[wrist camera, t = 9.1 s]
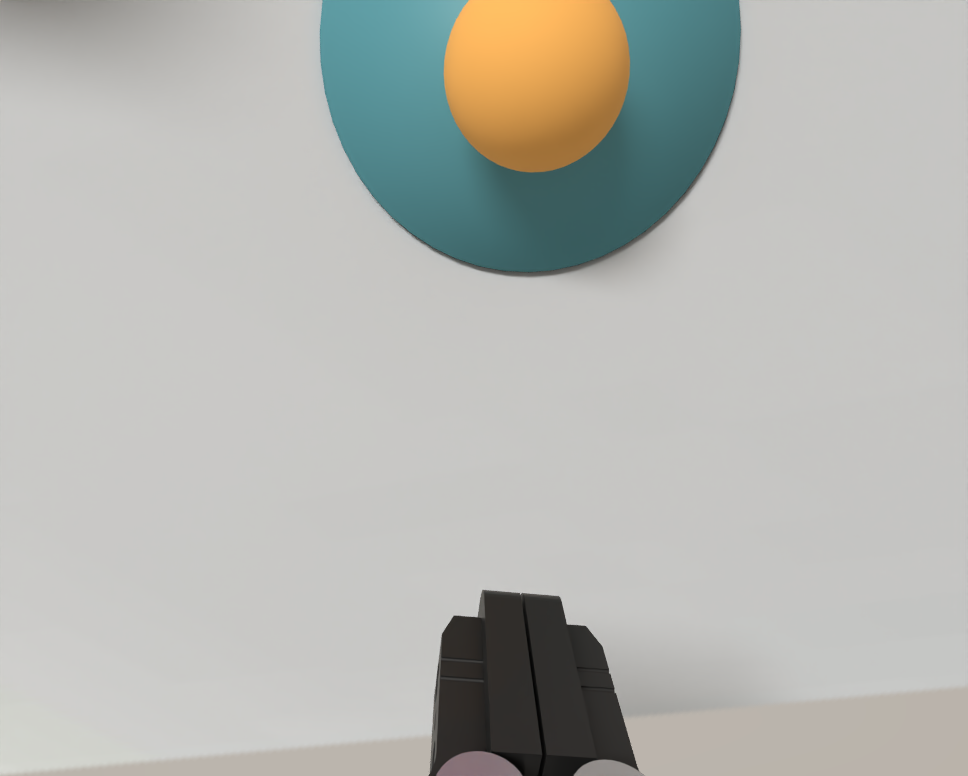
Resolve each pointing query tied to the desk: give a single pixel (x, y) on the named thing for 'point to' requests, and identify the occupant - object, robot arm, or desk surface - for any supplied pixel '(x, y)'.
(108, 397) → the desk surface
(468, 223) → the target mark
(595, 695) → the robot arm
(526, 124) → the ball
